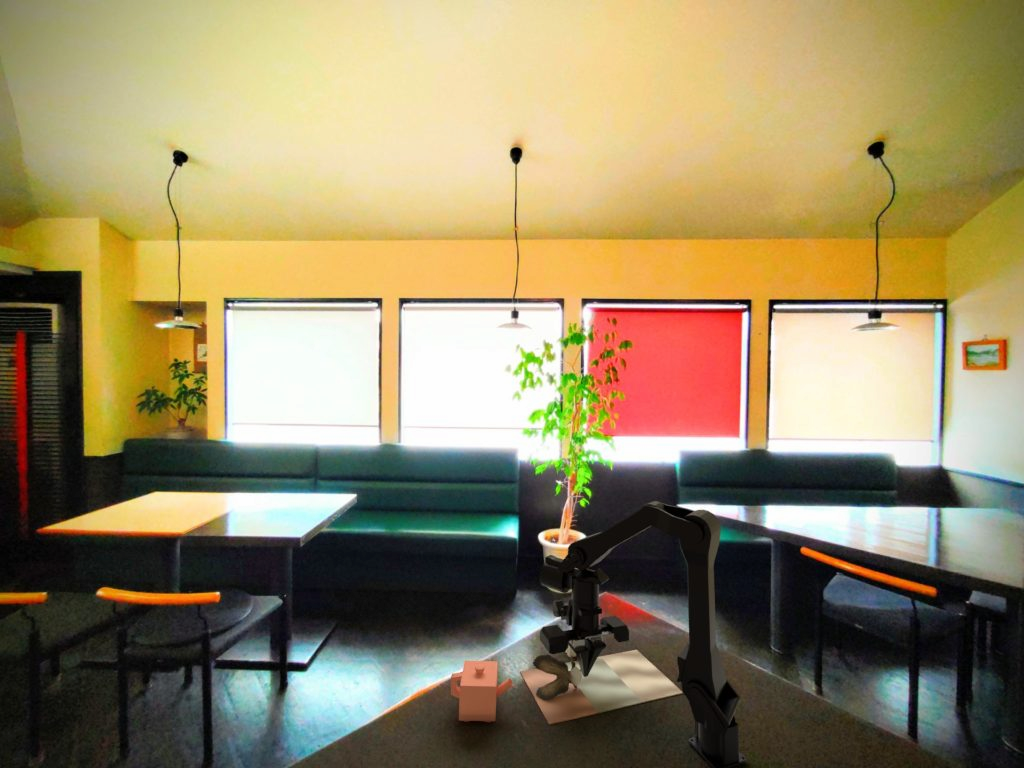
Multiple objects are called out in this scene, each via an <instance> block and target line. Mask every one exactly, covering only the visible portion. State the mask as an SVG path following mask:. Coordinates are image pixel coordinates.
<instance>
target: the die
mask: <svg viewBox="0 0 1024 768" xmlns="http://www.w3.org/2000/svg"><path fill="white" fill-rule="evenodd" d="M564 653H565V654H566V653H567V654H566V655H567V656H568V658H571V656H573V658H575V657H577V656H576V653H575V652H574V651H573V650H572V649H571V647H570V646H569V645H568V648H567V650H566V651H565V652H564Z"/></svg>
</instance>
